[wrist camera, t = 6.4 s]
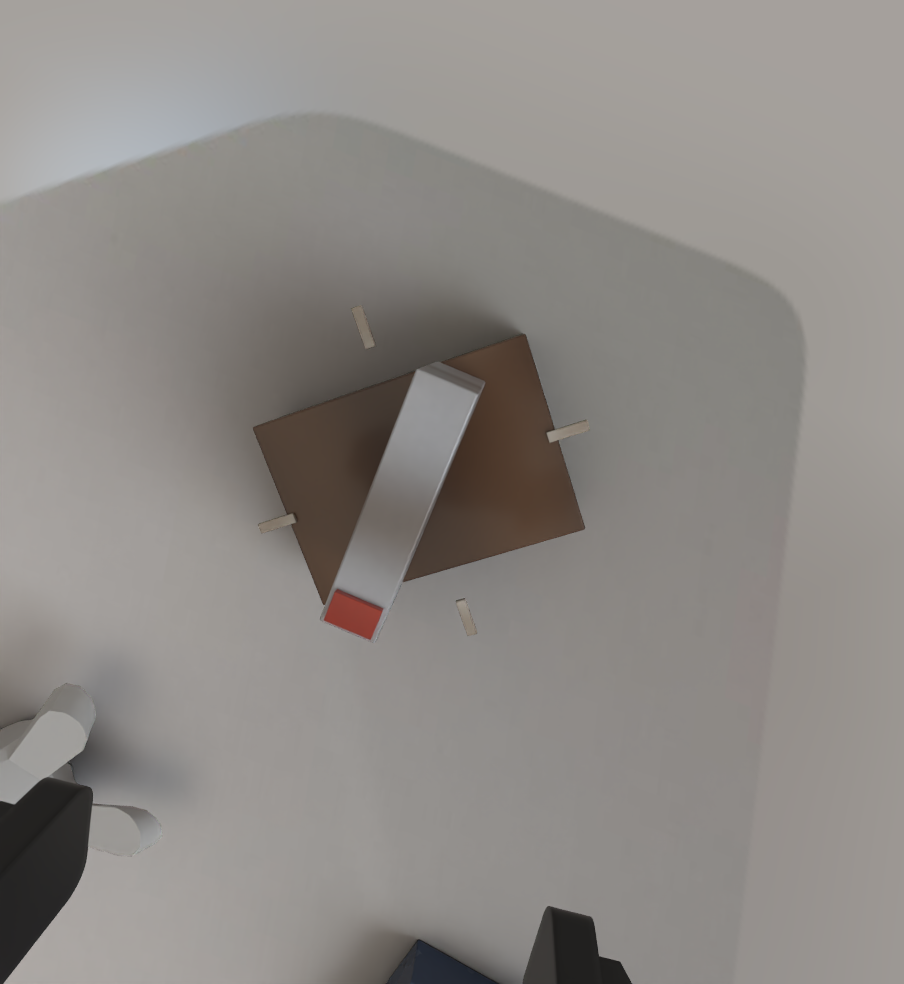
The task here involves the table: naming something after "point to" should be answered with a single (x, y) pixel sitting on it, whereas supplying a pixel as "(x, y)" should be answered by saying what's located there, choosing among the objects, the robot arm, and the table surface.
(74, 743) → the bunny figurine
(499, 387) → the tap base
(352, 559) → the light grey narrow block
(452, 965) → the button block
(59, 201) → the table surface
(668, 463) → the table surface
